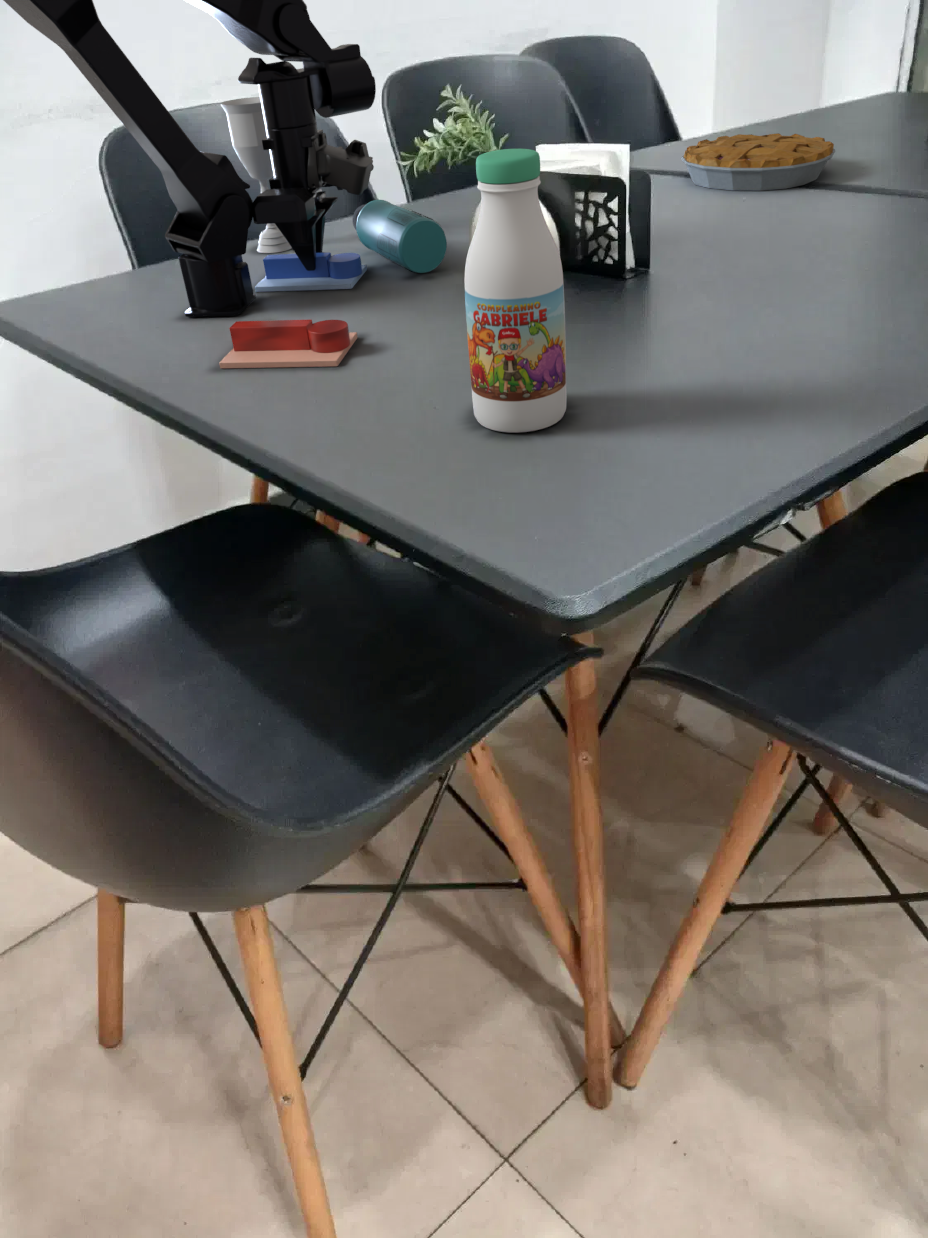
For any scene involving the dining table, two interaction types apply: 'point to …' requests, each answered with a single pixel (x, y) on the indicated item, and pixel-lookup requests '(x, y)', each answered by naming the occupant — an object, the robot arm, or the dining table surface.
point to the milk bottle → (514, 300)
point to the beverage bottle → (400, 235)
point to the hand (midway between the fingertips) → (314, 267)
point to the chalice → (254, 157)
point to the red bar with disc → (290, 335)
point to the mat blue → (307, 283)
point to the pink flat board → (284, 358)
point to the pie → (757, 161)
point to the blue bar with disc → (325, 266)
